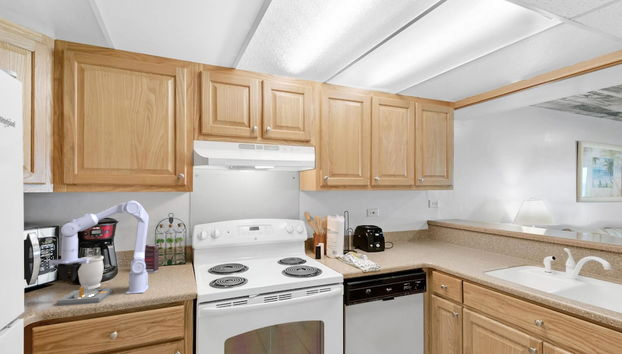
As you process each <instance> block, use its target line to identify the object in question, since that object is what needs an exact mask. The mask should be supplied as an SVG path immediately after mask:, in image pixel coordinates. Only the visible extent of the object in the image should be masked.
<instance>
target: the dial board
mask: <svg viewBox="0 0 622 354" xmlns="http://www.w3.org/2000/svg"><path fill="white" fill-rule="evenodd" d="M88 290H98V291H99V294H97V295H96V296H94V297H90V298H74V295H75V294H77V293H79V289H74V290H73V291H71V292H69V293H67V294H66V295H64V296H63V297H61V298H58V299H57V300H56V306H57V307H58V306H62V307H63V306H73V305H75V306H76V305H89V304H99V303H101V302H102V301H103V300H105V299H106V298H107V297H109V296H110V295H111V294H113V287H107V288H106V287H104V288H95V289H88Z"/></svg>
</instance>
